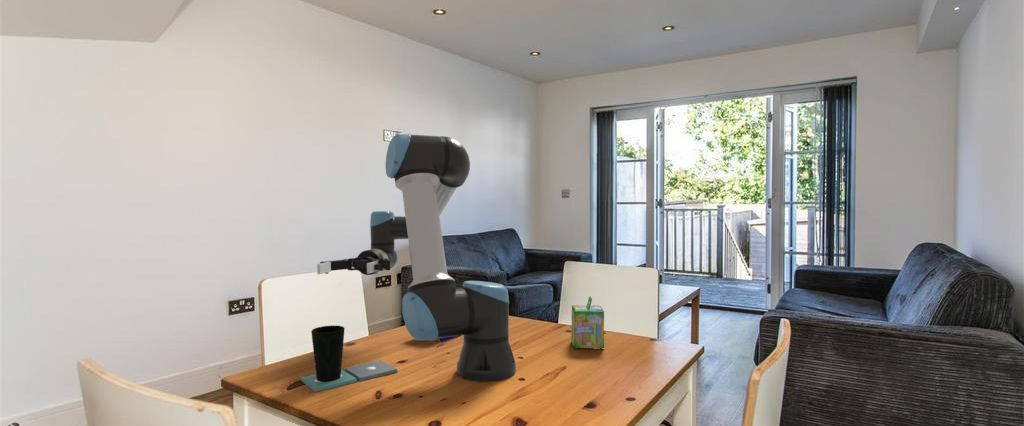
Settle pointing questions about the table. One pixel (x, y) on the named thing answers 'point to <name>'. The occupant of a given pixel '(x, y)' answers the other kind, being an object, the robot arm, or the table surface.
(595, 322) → the green printed box
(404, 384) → the table surface
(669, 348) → the table surface
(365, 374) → the tile one
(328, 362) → the cup
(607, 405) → the table surface
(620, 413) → the table surface
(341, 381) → the tile two
